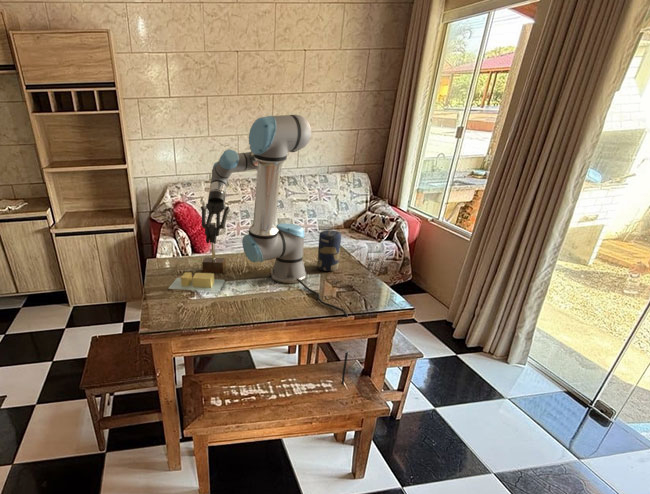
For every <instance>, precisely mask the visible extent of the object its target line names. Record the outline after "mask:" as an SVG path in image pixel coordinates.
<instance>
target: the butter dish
mask: <svg viewBox="0 0 650 494" xmlns="http://www.w3.org/2000/svg"><path fill="white" fill-rule="evenodd" d="M224 283H225V279H215V278H214V284H213V285H212V287H211V288H207V287H193V282H191V283H190V285H189V286H188V287H187V286H182V285H181V277H176V278H175V279H174V281H173V282H172V283H171V284H170V286H168V290H185V291H203V292H205V291H206V292H220V290H221V288H222V287H223V285H224Z"/></svg>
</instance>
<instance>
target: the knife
mask: <svg viewBox="0 0 650 494" xmlns="http://www.w3.org/2000/svg"><path fill="white" fill-rule="evenodd" d="M215 227H216V223H215V222H211V223H210V224H209V244H210V243H211V258H212V261H213V262H214V261H215V260H216V258H217V257H216V244H214V242H213V235H214V228H215Z"/></svg>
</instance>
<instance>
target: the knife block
mask: <svg viewBox="0 0 650 494" xmlns="http://www.w3.org/2000/svg"><path fill="white" fill-rule="evenodd" d="M215 258H216V260H215V261H214V262H213V261H212V257H204V258H203V260H202V261H201V264H202V273H212V274H224V273H225V271H226V269H227V265H226V263H227V262H226V257H215Z"/></svg>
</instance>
